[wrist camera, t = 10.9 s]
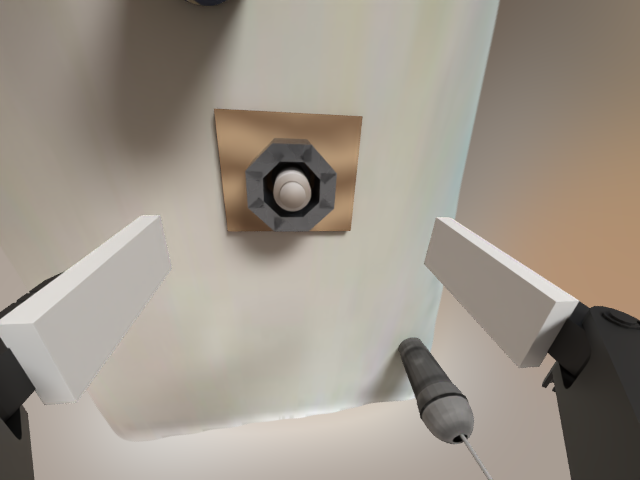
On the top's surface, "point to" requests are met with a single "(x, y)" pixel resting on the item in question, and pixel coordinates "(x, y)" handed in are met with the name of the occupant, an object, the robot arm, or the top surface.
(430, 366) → the beverage cup
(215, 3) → the canister
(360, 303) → the top surface
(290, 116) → the post block
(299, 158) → the ring
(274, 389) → the top surface
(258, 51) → the top surface
